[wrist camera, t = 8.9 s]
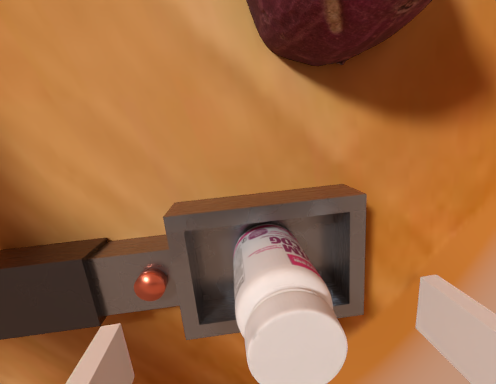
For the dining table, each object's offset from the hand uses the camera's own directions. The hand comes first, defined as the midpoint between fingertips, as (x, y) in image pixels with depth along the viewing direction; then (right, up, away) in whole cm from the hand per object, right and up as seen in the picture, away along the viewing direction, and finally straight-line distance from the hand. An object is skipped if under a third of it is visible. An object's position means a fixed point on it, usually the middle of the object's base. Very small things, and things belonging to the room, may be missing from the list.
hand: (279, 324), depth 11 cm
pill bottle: (0, +1, +7) cm, 7 cm away
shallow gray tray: (-6, +1, +7) cm, 9 cm away
